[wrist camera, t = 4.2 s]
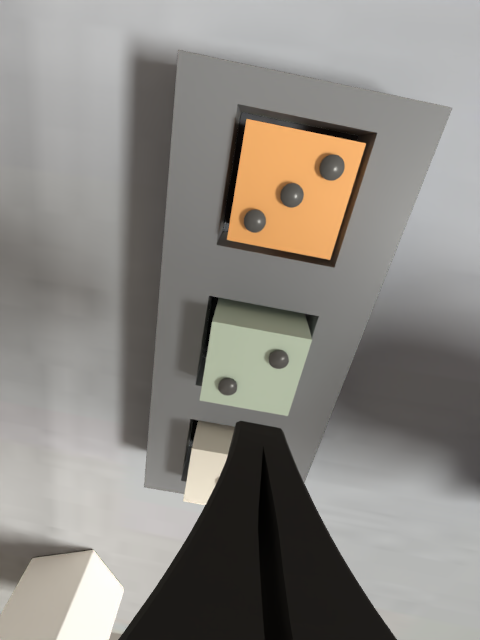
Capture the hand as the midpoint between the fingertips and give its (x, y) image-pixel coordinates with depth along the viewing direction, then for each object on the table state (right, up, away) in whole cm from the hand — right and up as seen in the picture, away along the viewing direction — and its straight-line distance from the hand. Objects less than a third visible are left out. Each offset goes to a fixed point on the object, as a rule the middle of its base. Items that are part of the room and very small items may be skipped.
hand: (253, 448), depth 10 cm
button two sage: (0, +3, +7) cm, 7 cm away
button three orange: (+2, +10, +4) cm, 11 cm away
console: (0, +3, +8) cm, 8 cm away
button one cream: (-1, -3, +11) cm, 11 cm away
